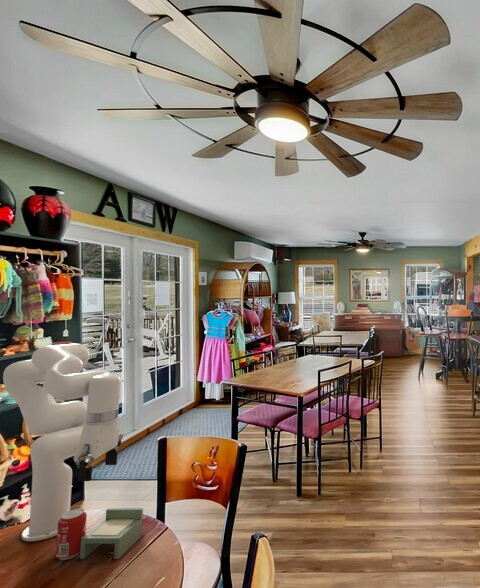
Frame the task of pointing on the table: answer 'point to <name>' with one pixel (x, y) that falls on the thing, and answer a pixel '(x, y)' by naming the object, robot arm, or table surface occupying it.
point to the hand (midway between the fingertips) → (98, 472)
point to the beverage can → (70, 533)
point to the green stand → (114, 531)
